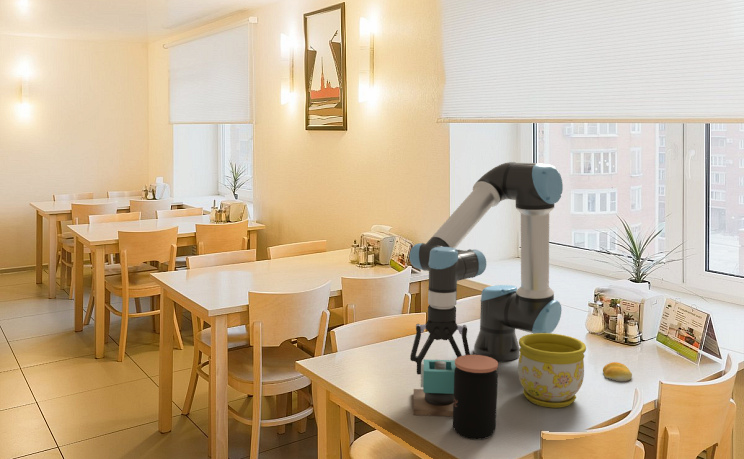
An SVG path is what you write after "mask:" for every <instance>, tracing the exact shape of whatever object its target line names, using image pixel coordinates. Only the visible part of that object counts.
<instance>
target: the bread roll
mask: <svg viewBox="0 0 744 459" xmlns="http://www.w3.org/2000/svg"><path fill="white" fill-rule="evenodd" d="M602 373H603V375H604V377H605V378H606V379H608V378H609V379H608V380H611V379H612V381H615V380H616V382H626V381H630V380H631V379H632V377H633V373H632V372H631V371H630V369H629V367H628V366H627V365H625V364H624V363H621V362H617V361H614V362H613V361H612V362H609V363H607V364H605V365H604V366H603V367H602Z"/></svg>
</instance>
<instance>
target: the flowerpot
mask: <svg viewBox="0 0 744 459" xmlns="http://www.w3.org/2000/svg"><path fill="white" fill-rule="evenodd" d="M518 345H519V348H520V354H519V357H518V363H517V373H518V375H517V376H518V379H519V381H520V385H521V386H522V387H523V391H522V393H523V395H524V396H525V397H526V399H527V400H528V401H529V402H531V403H533V404H534V405H538V406H540V407H544V408H553V409H555V408H556V409H557V408H558V409H559V408H566V407H568V406H570V405H571V404H572V403H573V402H574V401H576V399H577V396H576V395H577V393H578V392H579V391H580V389H581V387H582V385H583V382H584V379H585V378H584V377H585V362H584V358H585V354H584V353H585V352H586V350H587V345H586V344H585V343H584V342H583V341H582V340H580V339H578V338H576V337H572V336H569V335H565V334H559V333H553V332H552V333H535V334H533V333H528V334H526V335H523V336H521V337H520V338H519V340H518Z"/></svg>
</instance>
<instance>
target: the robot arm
mask: <svg viewBox="0 0 744 459" xmlns="http://www.w3.org/2000/svg"><path fill="white" fill-rule="evenodd" d="M563 187H564V185H563V179H562V176H561V173H560V171H559V170H558V169H557V167H555V166H554V165H552V164H547V163H541V162H540V163H539V162H515V161H513V162H512V161H509V162H504V163H502V164H499V165H496V166H495V167H494V168H491V169H490V170H488V171H487V172H486V173H484V174H483V175H482V176H481V177H480V178H479V179H478V180H477V181H476V182H475V183H474V184H473V186H472V191H471V192H470V194H469V195H468V196H467V197H466V198H465V199H464V200H463V202H461V203H460V204H459V206H458V207H457V208H456V210H455V211H453V212H452V214H451V215H450V216H449V217H448V218H447V219H446V221H445V222H444V223H443V224H442V225H441V226H440V227H439V229H437V231H436V232H435V233H434V234H433V235H432V237H430V239H428V241H427V242H426V243H423V242H421V243H416V244H414V245H413V246H412V247H411V248H410V252H409V262H410V264H411V266H412V267H414V268H415V269H418V270H422V271H425V272H428V295H427V297H428V298H427V299H428V300H427V303H428V307H427V320H426V322H425V323H424V324H420V323H416V324H415V330H416V331H415V332H416V333H415V336H414V341H413V343H412V344H413V345H412V348H411V352H410V361H411V362H415V363H416V374H417V375H420V388H423V378H424V361H423V359H425V357H426V355H427V353H428V351H429V349H430V348H431V346H432V344H433V343H434V341H440V340H441V341H442V340H443V341H448V342H449V344H450V346H451V348H452V350H453V352H454V354H455V356H456V358H457V357H460V356H463V354H462V352H461V351H460V349H459V346H458V344H457V342H456V340H455V338H454V336H453V335H454V334H455V333H456V332H457V331H458V333H459V335H461V339H462V345H463V350H464V355H471V353H470V348H469V343H468V338H467V337H468V336H467V334H468V326H467V325H466V324H464V325H458V324H457V306H456V305H457V296H458V295H457V293H458V292H457V288H458V281H462V280H466V279H467V280H468V279H471V278H472V279H473V278H475V277H478V276H481V275H482V274H483V273H484V272H485V270H486V268H487V259H486V255H485V254H484V253H483V252H482V251H481V250H479V249H470V248H469V249H467V250H462V249H457V247H458V246H459V245H460V244H461V243H462V242H463V241H464V239H465V238H466V237H467V236H468V234H470V233H471V231H472V230H473V229H474V228H475V226H476V225H477V224H478V223H479V222H480V221H481V220H482V219H483V218H484V216H486V213H487V212H488V211H489V210H490V209H491V208H493V207H497V206H498V205H499V204H500V202H502V201H505V200H513V201H515V209H516V210H517V211H518V212H520V286H519V287H518V288H517V286H515V285H511V284H510V285H509V284H500V285H499V284H498V285H491V286H486V287H484V288H483V289H482V290H481V295H480V312H479V313H480V317H479V318H480V319H479V321H480V322H479V331H478V334H477V336H476V340H475V343H474V345H473V353H474V355H482V356H487V357H490V358H493V359H495V360H496V361H497V362H501V361H502V362H505V361H507V362H508V361H512V360H515V359H519V356H520V348H521V347H520V345H519V340H518V338H517V335H516V330H520V331H523V332H526V333H529V334H535V333H552V334H553V332H554V331H555V329H556V328H557V327H558V325H559V322H560V319H561V317H562V316H561V315H562V310H563V309H562V304H561V303H560V301H558V300H557V299H555V296H554V295H555V291H554V290H553V289H552V288H551V287H550V213H551V211H553V210H554V209H555V204H556V203H558V202H559V201H560V199H561V197H562V193H563V189H564V188H563ZM425 330H426V331H427V332H428V333H429V335H428V336H427V339H426V341H425V343H424V345H423V346H422V347H421V350H420V352H418V348H419V344H420V341H421V337H422V334H424V333H425ZM417 353H418V355H417Z"/></svg>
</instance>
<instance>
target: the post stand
mask: <svg viewBox="0 0 744 459" xmlns="http://www.w3.org/2000/svg"><path fill="white" fill-rule="evenodd" d="M435 369H437V370H446V362H444V361H436V362H435ZM412 394H413V395H412V396H413V416H429V417H430V416H432V417H433V416H435V417H453V399H454V394H446V393H423V388H413V393H412Z"/></svg>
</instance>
